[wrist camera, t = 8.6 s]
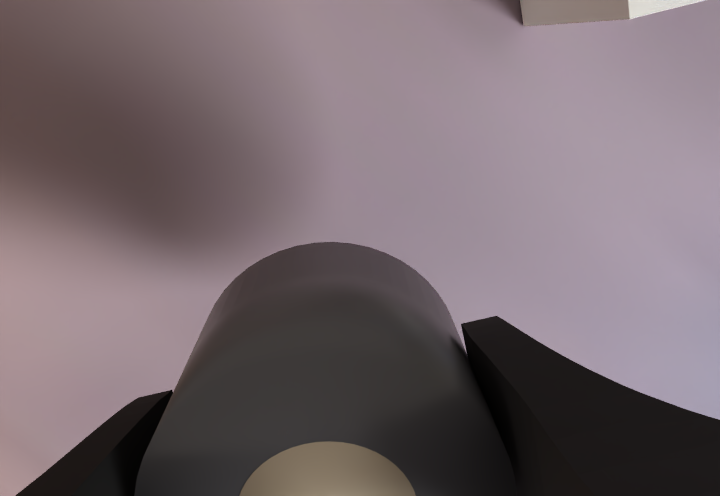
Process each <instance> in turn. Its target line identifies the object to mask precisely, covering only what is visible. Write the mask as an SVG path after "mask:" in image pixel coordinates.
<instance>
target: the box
mask: <svg viewBox="0 0 720 496" xmlns="http://www.w3.org/2000/svg"><path fill="white" fill-rule="evenodd" d="M701 1H705V0H520V4H521V11H522V18H523V26H537V25H552V24H566V23H581V22H595V21H610V20H625V19H632V18H636V17H640V16H644V15H649V14H653V13H657V12H661V11H665V10H669V9H673V8H677V7H681V6H685V5H689V4H693V3H697V2H701Z"/></svg>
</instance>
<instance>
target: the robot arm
mask: <svg viewBox="0 0 720 496" xmlns="http://www.w3.org/2000/svg"><path fill="white" fill-rule="evenodd" d="M461 326H462V331H463V336H464V341H465V346H466V351H467V356H468V359H469V361H470V364H471V366H472V368H473V371H474V373H475V376H476V378H477V381H478V383H479V385H480V388H481V390H482V393H483V395H484V397H485V400H486V402H487V405H488V407H489V409H490V412H491V414H492V417H493V419H494V422H495V424H496V426H497V429H498V431H499V434H500V436H501V439H502V441H503V443H504V446H505V448H506V451H507V453H508V456H509V458H510V462H511V465H512V469H513V473H514V476H515V484H516V493H517V496H720V420H718V419H715V418H711V417H708V416H705V415H702V414H698V413H695V412H692V411H689V410H686V409H683V408H680V407H677V406H675V405H672V404H669V403H667V402H664V401H661V400H659V399H656V398H653V397H651V396H648V395H645V394H642V393H640V392H637V391H635V390H633V389H630V388H628V387H625V386H623V385H621V384H619V383H616V382H614V381H612V380H610V379H608V378H606V377H604V376H602V375H599V374H597V373H595V372H593V371H591V370H589V369H587V368H585V367H583V366H581V365H579V364H577V363H575V362H573V361H571V360H570V359H568V358H566V357H564V356H562V355H560V354H559V353H557V352H555V351H553V350H552V349H550V348H548V347H546V346H545V345H543V344H541V343H540V342H538V341H536V340H535V339H533V338H531V337H530V336H528V335H527V334H525V333H523V332H522V331H520V330H519V329H517V328H515V327H514V326H512V325H511V324H509V323H508V322H506V321H504V320H503V319H501V318H500V317H498V316H494V317H489V318H485V319H481V320H476V321H472V322H468V323H463V324H461ZM172 394H173V392H172V390H170V391H166V392H161V393H157V394H152V395H148V396H144V397H139V398H137V399H136V400H134V401H132V402H131V403H129V404H128V405H126V406H125V407H124V408H122V409H121V410H120V411H118V412H117V413H116V414H114V415H113V416H112V417H111V418H109V419H108V420H107V421H106V422H104V423H103V424H102V425H101V426H100V427H98V428H97V429H96V430H95V431H94V432H92V433H91V434H90V435H89V436H88V437H86V438H85V439H84V440H83V441H82V442H80V443H79V444H78V445H77V446H76V447H74V448H73V449H72V450H71V451H70V452H69V453H67V454H66V455H65V456H64V457H63V458H61V459H60V460H59V461H58V462H57V463H55V464H54V465H53V466H52V467H51V468H49V469H48V470H47V471H46V472H45V473H43V474H42V475H41V476H40V477H38V478H37V479H36V480H35V481H33V482H32V483H31V484H30V485H28V486H27V487H26V488H24V489H23V490H22V491H21V492H19V493H18V494H17V495H16V496H134V495H135V487H136V480H137V476H138V472H139V469H140V466H141V463H142V460H143V457H144V454H145V452H146V450H147V448H148V446H149V444H150V442H151V439H152V437H153V435H154V433H155V431H156V429H157V426H158V424H159V422H160V420H161V418H162V416H163V414H164V411H165V409H166V407H167V405H168V403H169V401H170V398H171V396H172Z"/></svg>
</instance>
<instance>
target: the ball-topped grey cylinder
mask: <svg viewBox="0 0 720 496" xmlns="http://www.w3.org/2000/svg"><path fill="white" fill-rule="evenodd" d="M134 496H517V493H516V484H515V476H514V473H513V469H512V465H511V462H510V458H509V456H508V453H507V451H506V448H505V446H504V443H503V441H502V439H501V436H500V434H499V431H498V429H497V426H496V424H495V422H494V419H493V417H492V414H491V412H490V409H489V407H488V405H487V402H486V400H485V397H484V395H483V393H482V390H481V388H480V385H479V383H478V381H477V378H476V376H475V373H474V371H473V368H472V366H471V364H470V361H469V359H468V356H467V354H466V351H465V349H464V346H463V344H462V341H461V339H460V337H459V334H458V332H457V329H456V327H455V324H454V322H453V320H452V317H451V315H450V313H449V311H448V309H447V307H446V305H445V303H444V302H443V300H442V299H441V297H440V296H439V294H438V293H437V292H436V290H435V289H434V288H433V287H432V286H431V285H430V283H429V282H428V281H427V280H426V279H425V278H423V277H422V276H421V275H420V274H419V273H418V272H417V271H416V270H414V269H413V268H411V267H410V266H408V265H407V264H405V263H404V262H402V261H401V260H399V259H397V258H395V257H393V256H391V255H389V254H386V253H384V252H381V251H378V250H375V249H372V248H370V247H365V246H361V245H356V244H351V243H338V242H323V243H311V244H305V245H299V246H295V247H292V248H288V249H285V250H282V251H279V252H277V253H274V254H272V255H270V256H268V257H265V258H263V259H262V260H260V261H258V262H257V263H255V264H254V265H252V266H250V267H249V268H247V269H246V270H245V271H244V272H243V273H241V274H240V275H239V276H238V277H236V278H235V279H234V280H233V282H232V283H231V284H230V285H229V286H228V287H227V288H226V289H225V290H224V291H223V293H222V294H221V296H220V297H219V299H218V300H217V302H216V303H215V305H214V307H213V309H212V311H211V313H210V315H209V317H208V319H207V321H206V323H205V325H204V327H203V330H202V332H201V334H200V336H199V338H198V340H197V342H196V345H195V347H194V349H193V351H192V353H191V355H190V358H189V360H188V362H187V364H186V366H185V368H184V370H183V373H182V375H181V377H180V379H179V381H178V383H177V386H176V388H175V390H174V392H173V394H172V396H171V398H170V401H169V403H168V405H167V407H166V409H165V411H164V414H163V416H162V418H161V420H160V422H159V424H158V426H157V429H156V431H155V433H154V435H153V437H152V439H151V442H150V444H149V446H148V448H147V450H146V452H145V454H144V457H143V460H142V463H141V466H140V469H139V472H138V476H137V480H136V487H135V495H134Z"/></svg>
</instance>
